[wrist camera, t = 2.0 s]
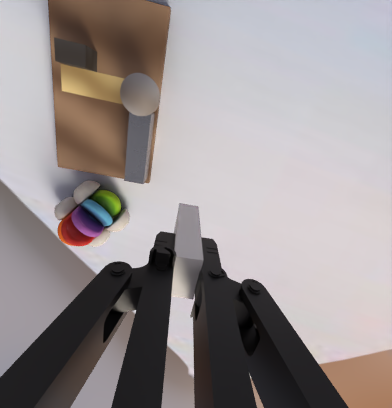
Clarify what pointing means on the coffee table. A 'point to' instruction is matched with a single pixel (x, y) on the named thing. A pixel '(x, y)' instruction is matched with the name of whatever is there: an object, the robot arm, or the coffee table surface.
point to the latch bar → (138, 147)
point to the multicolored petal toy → (90, 216)
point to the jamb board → (104, 77)
